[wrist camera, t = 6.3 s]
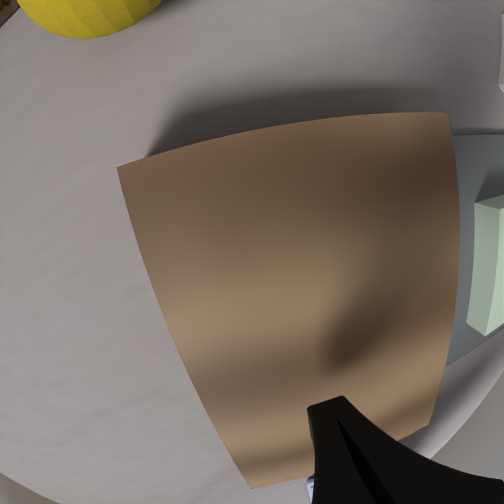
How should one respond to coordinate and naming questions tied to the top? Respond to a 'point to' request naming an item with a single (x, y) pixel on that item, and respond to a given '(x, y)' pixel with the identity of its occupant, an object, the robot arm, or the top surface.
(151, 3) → the lemon
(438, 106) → the top surface
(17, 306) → the top surface
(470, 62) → the top surface
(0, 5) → the ceramic cup
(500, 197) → the tile
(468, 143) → the mat
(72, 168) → the top surface
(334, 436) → the robot arm
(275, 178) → the board
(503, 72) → the soap bar
